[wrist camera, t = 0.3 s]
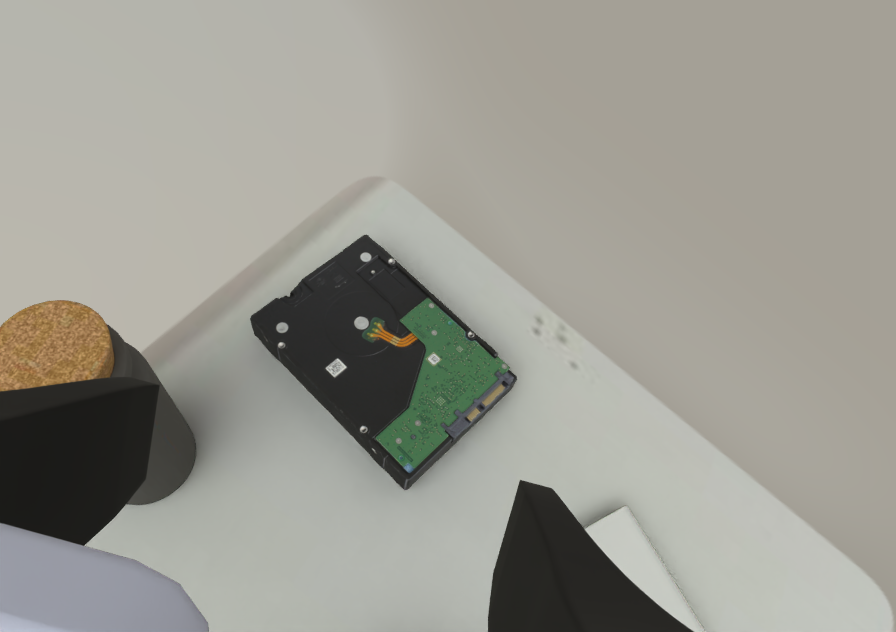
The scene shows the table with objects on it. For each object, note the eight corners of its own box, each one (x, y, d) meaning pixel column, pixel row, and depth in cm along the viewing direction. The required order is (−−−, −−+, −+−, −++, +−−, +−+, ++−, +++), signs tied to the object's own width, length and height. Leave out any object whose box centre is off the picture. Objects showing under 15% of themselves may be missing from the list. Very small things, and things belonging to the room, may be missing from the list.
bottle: (217, 450, 41) (154, 341, 28) (141, 527, 39) (32, 446, 26) (151, 393, 42) (60, 263, 29) (72, 463, 40) (-66, 355, 27)
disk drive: (251, 339, 45) (407, 495, 41) (244, 319, 43) (409, 483, 39) (364, 253, 50) (515, 387, 46) (364, 230, 47) (523, 370, 43)
